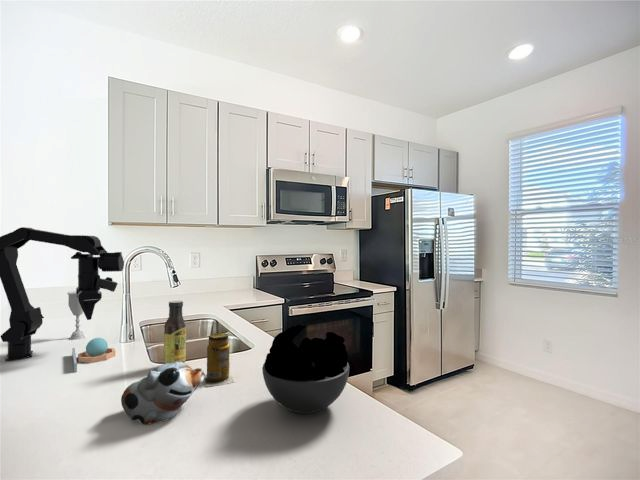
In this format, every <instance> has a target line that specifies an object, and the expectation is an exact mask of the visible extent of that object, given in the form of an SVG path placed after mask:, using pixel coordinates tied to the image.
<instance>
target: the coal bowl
mask: <svg viewBox="0 0 640 480" xmlns="http://www.w3.org/2000/svg"><path fill="white" fill-rule="evenodd" d="M307 327H308V325H301V324H298V325H294V326H290V327H288V328H287V329H285V330H284V331H283V332H278V334H276V335H275V337H274V338H273V340H272V343H271V346H270V348H269V352H268V353H267V354H266V357H265V360H264V363H263V365H262V376H263V381H264V383H265V387H266V389H267V391H268V392H269V394H270V396H271V397H272V398H273V399H274V400H275V401H276V403H278V404H279V405H281V406H282V407H283V408H285V409H287V410H289V411H292V412H295V413H299V414H300V413H301V414H310V413H312V414H313V413H316V412H318V411H322V410H324V409H326V408H328V407H329V406H330V405H332V404H333V403H335V401H336V400H338V398H339V397H340V396H341V394H342V393H343V392H344V389H345V387H346V384H347V383H348V379H349V374H350V364H349V362H348V358H349V356H348V355H349V353H348V352H347V347H346V344H345V341H346V339H345V338H344V336H341V335H338V334H336V332H332V331H327V332H326V333H325V338H321V337H320V338H319V337H312V338H309V337H305V338H303V339H302V340H301V342H300V344H299V346H298V345H297V344H296V343H294V342H293V341H294V339H295V338H296V337H297V335H299V334H300V333H301V332H302V331H303V330H304V329H305V328H307Z"/></svg>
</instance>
